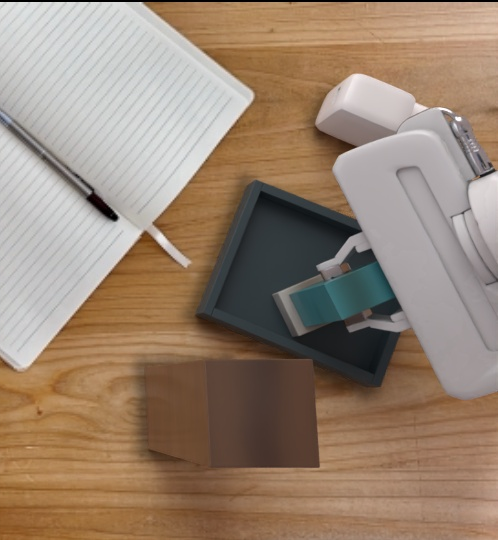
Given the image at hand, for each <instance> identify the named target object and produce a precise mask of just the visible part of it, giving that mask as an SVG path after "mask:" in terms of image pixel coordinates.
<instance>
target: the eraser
mask: <svg viewBox="0 0 498 540" xmlns="http://www.w3.org/2000/svg"><path fill="white" fill-rule="evenodd" d="M347 264H348V263H347ZM348 266H349V264H348ZM349 268H350V266H349ZM350 270H351V271H349V272H347V273H345V274H344V275H341V276H338V277H336V278H333V279H331V280H328V281H325V282H324V281H323V279H322V277H321V275H320V274H319V275H317V276H314V277H312V278H309V279H307V280H305V281H302V282H300V283H298V284H295V285H293V286H291V287H288V288H286V289H284V290H281V291H279V292H277V293H274V294H272V296H273V298H274V300H275V302H276V304H277V306H278V308H279V311H280V313H281V315H282V317H283V319H284V321H285V323H286V325H287V327H288V329H289V331H290V333H291V335H292V337H297V336H301V335H303V334H306V333H308V332H310V331H313V330H315V329H317V328H320V327H322V326H324V325H327V324H329V323H331V322H335V321H340V320H344V319H346V318H348V317H351V316H353V315H355V314H358V313H360V312H362V311H365V310H367V309H369V308H372V307H374V306H376V305H379V304H381V303H383V302H386V301H388V300H390V299H393V298H395V297H396V296H395V294H394V292H393V290H392V288H391V286H390V284H389V282H388V280H387V278H386V276H385V274H384V272H383V270H382V268H381V266H380V264H379V263H378V261H375V262H372V263H368V264H365V265H362V266H359V267H356V268H353V269H351V268H350Z"/></svg>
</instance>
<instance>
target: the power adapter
mask: <svg viewBox="0 0 498 540" xmlns="http://www.w3.org/2000/svg"><path fill="white" fill-rule="evenodd" d="M416 101H417V100H416V98H415V97H414V95H413V94H411V93H409V92H407V91H406V90H403V89H401V88H399V87H396V86H394V85H392V84H389V83H387V82H384V81H382V80H381V79H380V80H379V79H378V78H375V77H372V76H370V75H366V74H364V73H352V74H351V75H349V76H348V77H346V78H344V79H343V80H342V81H341V82H339V83H338V84H337V85H336V86H334V87H333V88H332V89H331V90H330V91H328V93H327V94H326V96H325V98H324V100H323V102H322V104H321V106H320V108H319V111H318V113H317V116H316V119H315V121H314V123H315V127H316V128H317V130H319V131H320V132H322V133H324V134H327V135H329V136H331V137H333V138H336V139H338V140H341V141H342V142H345V143H347V144H350V145H352V146H354V147H356V148H357V147H360V146H362V145H365V144H367V143H370V142H373V141H376V140H379V139H382V138H385V137H389V136H392V135H395V134H396V132H397V129H398V128H399V126H400V125H401V123H402V122H403V121H405V120H406V119H407V118H409V117H411V116H413V115H415V114H417V113H419V112H422V111H424V110H426V109H428V108H429V107H428V106H425V105H423V104H420V103H418V102H416Z"/></svg>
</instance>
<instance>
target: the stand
mask: <svg viewBox="0 0 498 540" xmlns="http://www.w3.org/2000/svg"><path fill="white" fill-rule="evenodd" d="M144 381H145V382H144V383H145V407H146V408H145V409H146V433H147V434H146V435H147V449H148V450H150V451H154V452H157V453H160V454H163V455H168V456H171V457H174V458H176V459H177V458H178V459H180V460H185V461H188V462H191V463H194V464H198V465H201V466H205V467H208V468H212V469H234V468H236V469H274V468H275V469H319V468H320V467H321V462H320V461H321V460H320V448H319V433H318V417H317V405H316V404H317V403H316V402H317V401H316V387H315V386H316V385H315V373H314V365H313V360H312V359H299V358H220V359H219V358H215V359H213V358H211V359H210V358H209V359H199V360H191V361H189V360H188V361H182V362H174V363H165V364H158V365H151V366H150V365H148V366H145V367H144Z"/></svg>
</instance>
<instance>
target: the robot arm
mask: <svg viewBox="0 0 498 540" xmlns="http://www.w3.org/2000/svg"><path fill="white" fill-rule="evenodd" d="M446 115H447V116H448V117H449V118H451V120H448V118H447V116H446ZM331 171H332V174H333V177H334V178H335V180H336V182H337V184H338V186H339V188H340V190H341V192H342V194H343V196H344V198H345V200H346V202H347V204H348V206H349V208H350V209H351V212H352V213H353V215H354V217H355V219H356V220H357V221H358V223H359V225H360V227H361V229H362V231H363V232H360V233H358V234H356V235H353V236H351V237H349V239H348V240H347V241H346V243H345V244H344V245H343V247H342V248H341V249H340V251H339V252H338V253H337V255H336V256H335V258H333V259H330V260H328V261H325V262H323V263H321V264H319V265H317V266H316V267H317V269H318V271H319V273H320V275H321V277H322V279H323V281H324V282H325V281H328V280H331V279H333V278H336V277H338V276H341V275H344V274H345V273H347V272H349V271H351V270H350V268H349V266H348V264H347V261H348V260H349V258H350V257H351V256H352V255H353V253H354V252H355V251H356V250H357V252H359V253H360V252H362V251H365V250H368V249H370V248H371V249H372V251H373V253H374V255H375V257H376V259H377V261H378V263H379V264H380V266H381V268H382V270H383V272H384V274H385V276H386V278H387V280H388V282H389V284H390V286H391V288H392V290H393V292H394V294H395V296H396V298H397V300H398V302H399V304H400V306H401V308H402V309H399V310H398V311H396V312H395V313H394V314H392V315H391V316H388V315H381V314H374V313H372V311H371V309H370V308H369V309H367V310H365V311H362V312H360V313H358V314H355V315H353V316H351V317H348V318H346V319H344V320H343V321H344V323H345V325H346V327H347V329H348V331H349V332H353V331H356V330H359V329H362V328H366V327H369V326H370V327H371V328H376V329H381V330H387V331H393V332H401V333H402V332H403V331H406V330H410V329H412V331H413V333H414V335H415V337H416V339H417V341H418V343H419V345H420V347H421V349H422V351H423V353H424V355H425V356H426V358H427V361H428V363H429V365H430V366H431V369H432V370H433V372H434V374H435V376H436V378H437V380H438V382H439V384H440V386H441V388H442V390H443V392H444V394H446V395H447V396H449V397H452V398H455V399H458V400H460V401H471V400H474V399H478V398H481V397H486V396H489V395H491V394H495V393H497V392H498V169H496V168H495V167H494V164H493V163H492V161H491V159H490V158H489V157H488V154H487V152H486V151H485V149H484V147H482V145H481V144H480V142H479V141H478V139H477V138H476V136H475V134H474V129H473V127H472V125H471V122H470V121H469V120H468V119H467V118H466V116H465V115H460V116H459V115H458V114H457V113H456V112H455V111H453V110H452V109H450V108H447V107H443V106H433V107H428V109H426V110H424V111H422V112H419V113H417V114H415V115H413V116H411V117H409V118H407V119H406V120H405V121H403V122H402V123H401V125H400V126H399V128H398V129H397V132H396V134H395V135H392V136H389V137H385V138H382V139H379V140H376V141H373V142H370V143H367V144H365V145H362V146H360V147H357V146H356V147H355V148H352V149H350V150H348V151H347V150H346V151H345V152H342V153H341V154H339V155H338V156H337V158H336V160H335V162H334V164H333V166H332V169H331Z"/></svg>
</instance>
